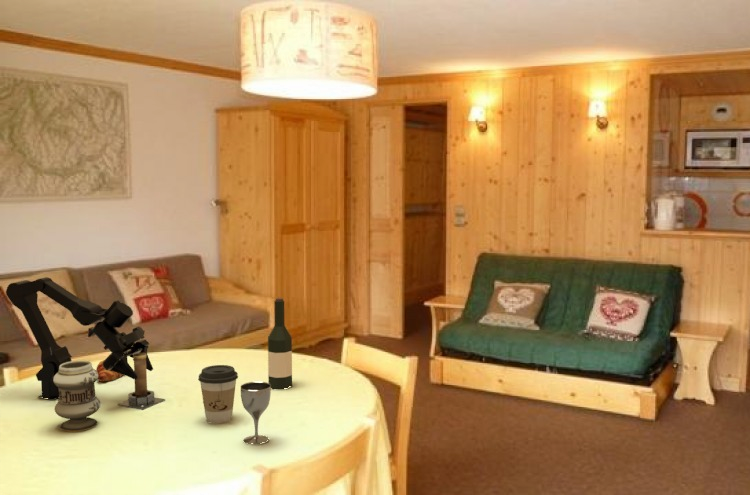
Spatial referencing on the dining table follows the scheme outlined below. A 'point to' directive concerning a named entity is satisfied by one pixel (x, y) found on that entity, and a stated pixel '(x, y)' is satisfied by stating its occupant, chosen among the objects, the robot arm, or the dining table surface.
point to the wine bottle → (279, 351)
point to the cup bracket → (141, 401)
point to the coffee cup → (218, 392)
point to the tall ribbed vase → (140, 374)
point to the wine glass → (255, 405)
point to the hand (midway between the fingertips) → (144, 374)
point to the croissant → (106, 373)
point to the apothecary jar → (76, 395)
